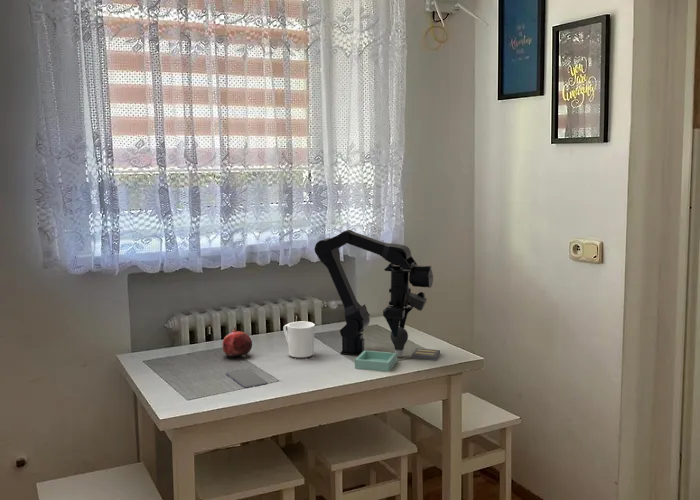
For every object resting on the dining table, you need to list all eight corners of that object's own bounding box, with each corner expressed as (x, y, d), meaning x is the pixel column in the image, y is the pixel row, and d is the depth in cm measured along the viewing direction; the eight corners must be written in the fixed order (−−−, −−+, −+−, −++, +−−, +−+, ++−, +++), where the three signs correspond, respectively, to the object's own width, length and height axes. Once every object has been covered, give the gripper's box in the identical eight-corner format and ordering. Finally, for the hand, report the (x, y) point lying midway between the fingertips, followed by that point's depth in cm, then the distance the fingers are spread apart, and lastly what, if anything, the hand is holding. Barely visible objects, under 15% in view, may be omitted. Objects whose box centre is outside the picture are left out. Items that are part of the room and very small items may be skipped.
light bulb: (406, 360, 234) (406, 329, 232) (389, 359, 235) (389, 329, 234) (408, 355, 239) (409, 325, 238) (391, 354, 240) (391, 324, 239)
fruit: (254, 359, 236) (253, 328, 234) (224, 361, 233) (223, 330, 232) (249, 351, 244) (249, 321, 243) (221, 353, 242) (220, 323, 240)
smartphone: (244, 387, 208) (224, 372, 220) (244, 390, 208) (225, 375, 220) (268, 382, 211) (248, 368, 224) (268, 385, 212) (248, 371, 224)
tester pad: (411, 358, 236) (411, 354, 236) (416, 351, 244) (416, 347, 243) (435, 360, 234) (435, 356, 234) (440, 353, 241) (440, 349, 241)
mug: (319, 353, 242) (319, 323, 240) (306, 360, 234) (306, 329, 232) (290, 349, 246) (290, 319, 245) (277, 356, 238) (276, 325, 237)
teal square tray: (354, 368, 226) (354, 359, 225) (364, 358, 236) (364, 350, 235) (388, 371, 223) (388, 362, 222) (396, 361, 233) (396, 353, 232)
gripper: (418, 292, 223) (417, 342, 225) (430, 281, 240) (429, 327, 243) (382, 290, 226) (382, 339, 228) (397, 279, 243) (396, 325, 246)
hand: (398, 332), depth 236 cm, fingers open, 9 cm apart
